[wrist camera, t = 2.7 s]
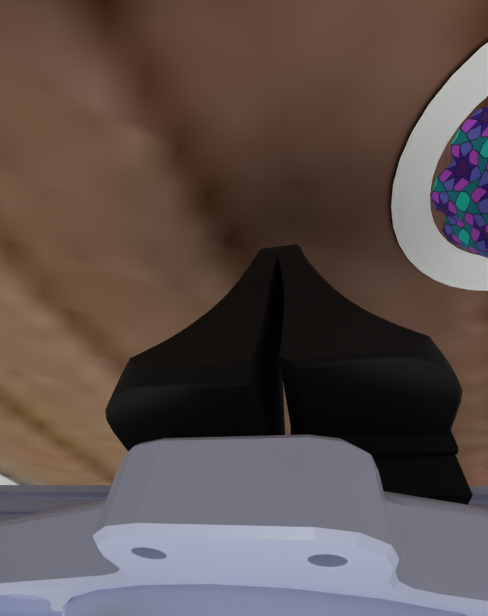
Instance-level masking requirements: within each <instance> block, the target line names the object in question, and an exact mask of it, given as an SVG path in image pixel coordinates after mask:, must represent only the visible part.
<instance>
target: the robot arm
mask: <svg viewBox="0 0 488 616" xmlns="http://www.w3.org/2000/svg"><path fill="white" fill-rule="evenodd" d="M283 383H284V389H285V395H286V400H287V406H288V412H289V418H290V424H291V435H285V423H284V399H283ZM461 395H462V389H461V386H460V383H459V381H458V378H457V377H456V375H455V373H454V371H453V369H452V367H451V366H450V364H449V362H448V361H447V360H446V358H445V357H444V355H443V354H442V353H441V351H440V350H439V349H438V347H437V346H436V345H435V343H434V342H433V341H432V339H431V338H430V337H429V336H426V335H424V334H421V333H418V332H415V331H412V330H410V329H407V328H404V327H401V326H398V325H396V324H393V323H391V322H389V321H387V320H384V319H382V318H380V317H378V316H376V315H374V314H372V313H370V312H368V311H366V310H364V309H363V308H361V307H359V306H357V305H356V304H354V303H352V302H351V301H349V300H348V299H346V298H345V297H344V296H343V295H341V294H340V293H339V292H337V291H336V290H335V289H334V288H333V287H332V286H331V285H330V284H328V283H327V282H326V281H325V280H324V279H323V278H322V277H321V275H320V274H319V273H318V272H317V271H316V270H315V269H314V267H313V266H312V265H311V264H310V262H309V261H308V260H307V258H306V257H305V255H304V254H303V252H302V250H301V247H300V246H298V245H297V244H296V245H288V246H281V247H273V248H265V249H261V250H260V251H259V252H258V254H257V255H256V257H255V258H254V260H253V262H252V263H251V264H250V266H249V267H248V269H247V270H246V272H245V273H244V274H243V276H242V277H241V278H240V280H239V281H238V282H237V283H236V285H235V286H234V287H233V288H232V289H231V290H230V292H229V293H228V294H227V295H226V296H225V297H224V298H223V299H222V300H221V301H220V302H219V303H218V304H217V305H215V306H214V307H213V308H212V309H211V310H210V311H209V312H207V313H206V314H205V315H203V316H202V317H201V318H199V319H198V320H197V321H195V322H194V323H193V324H191V325H190V326H189V327H187V328H186V329H184V330H182V331H181V332H179V333H178V334H176V335H174V336H173V337H171V338H169V339H168V340H166V341H164V342H162V343H160V344H159V345H157V346H154V347H152V348H150V349H148V350H146V351H144V352H142V353H140V354H138V355H136V356H134V357H132V358H130V360H129V361H128V363H127V365H126V367H125V369H124V371H123V373H122V375H121V377H120V379H119V381H118V383H117V386H116V388H115V390H114V392H113V394H112V396H111V399H110V401H109V403H108V405H107V408H106V419H107V421H108V423H109V425H110V427H111V429H112V430H113V432H114V433H115V435H116V436H117V437H118V439H119V440H120V441H121V442H122V444H123V445H124V446H125V448H126V449H127V450H128V453H127V454H126V455H125V456H124V457H123V458H122V460H121V462H120V465H119V467H118V470H117V473H116V475H115V478H114V481H113V483H112V486H91V485H0V616H488V486H469V485H468V483H467V481H466V478H465V476H464V474H463V471H462V469H461V467H460V465H459V462H458V460H457V458H456V455H455V454H457V453H458V446H457V444H456V441H455V439H454V437H453V435H452V432H451V428H452V425H453V422H454V420H455V417H456V414H457V411H458V408H459V405H460V402H461Z"/></svg>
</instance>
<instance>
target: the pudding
mask: <svg viewBox="0 0 488 616" xmlns="http://www.w3.org/2000/svg"><path fill="white" fill-rule="evenodd" d="M487 96H488V43H486V44H485V45H484V46H482V47H481V48H480V49H479V50H478V51H477V52H476V53H475V54H474V55H473V56H472V57H471V58H470V59H469V60H468V61H467V62H466V63H464V64H463V65H462V66H461V67H460V68H459V69H458V70H457V71H456V72H455V73H454V74H453V75H452V76H451V78H450V79H449V80H448V81H447V82H446V84H445V85H444V86H443V87H442V89H441V90H440V91H439V92H438V94H437V95H436V96H435V97H434V99H433V100H432V101H431V102H430V104H429V105H428V107H427V108H426V110H425V112H424V113H423V115H422V116H421V118H420V120H419V121H418V123H417V125H416V126H415V128H414V129H413V131H412V133H411V135H410V137H409V140H408V142H407V144H406V146H405V149H404V151H403V153H402V156H401V158H400V161H399V164H398V168H397V172H396V175H395V179H394V183H393V191H392V202H391V211H392V220H393V228H394V231H395V234H396V237H397V240H398V243H399V245H400V247H401V248H402V250H403V252H404V253H405V255H406V257H407V258H408V259H409V260H410V261H411V262H412V263H413V264H414V265H415V266H416V267H417V268H418V269H419V270H420V271H421V272H423V273H424V274H426V275H427V276H429V277H430V278H432V279H434V280H436V281H438V282H441V283H444V284H446V285H449V286H452V287H457V288H462V289H467V290H483V291H488V107H485V108H482V109H479V110H477V111H476V112H475V113H474V114H473V115H472V116H471V117H470V118H469V119H468V120H467V121H466V122H465V123H464V124H463V125H462V126H461V127H460V129H459V131H458V133H457V134H456V136H455V138H454V140H453V141H452V143H451V160H452V163H451V164H450V165H449V166H448V167H447V168H446V169H445V170H444V171H443V172H442V173H441V174H440V175H439V176H438V177H437V178H436V181H435V184H434V187H433V191H432V199H433V205H434V208H435V209H437V210H438V211H440V212H442V213H443V214H445V215H446V219H445V223H444V228H443V232H444V234H445V235H446V237H447V238H448V240H449V241H451V242H453V243H455V244H457V245H459V246H461V247H463V248H466V249H468V250H470V251H472V252H475V253H477V254H479V255H475V254H470V253H468V252H465V251H463V250H460V249H458V248H456V247H455V246H453V245H452V244H450V243H449V242H448V241H447V240H446V239H445V238H444V237H443V236H442V235H441V234H440V232H439V231H438V229H437V227H436V225H435V223H434V221H433V217H432V213H431V209H430V191H431V184H432V178H433V175H434V172H435V169H436V166H437V163H438V160H439V158H440V156H441V155H442V153H443V151H444V149H445V147H446V145H447V143H448V141H449V140H450V138H451V137H452V135H453V134H454V133H455V131H456V130H457V128H458V127H459V125H460V124H461V123H462V122H463V121H464V119H465V118H466V117H467V116H468V115H469V114H470V113H471V112H472V110H473V109H474V108H475V107H476V106H477V105H478V104H479V103H480V102H482V101H483V100H484V99H485V98H486V97H487ZM480 255H481V256H480Z"/></svg>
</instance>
